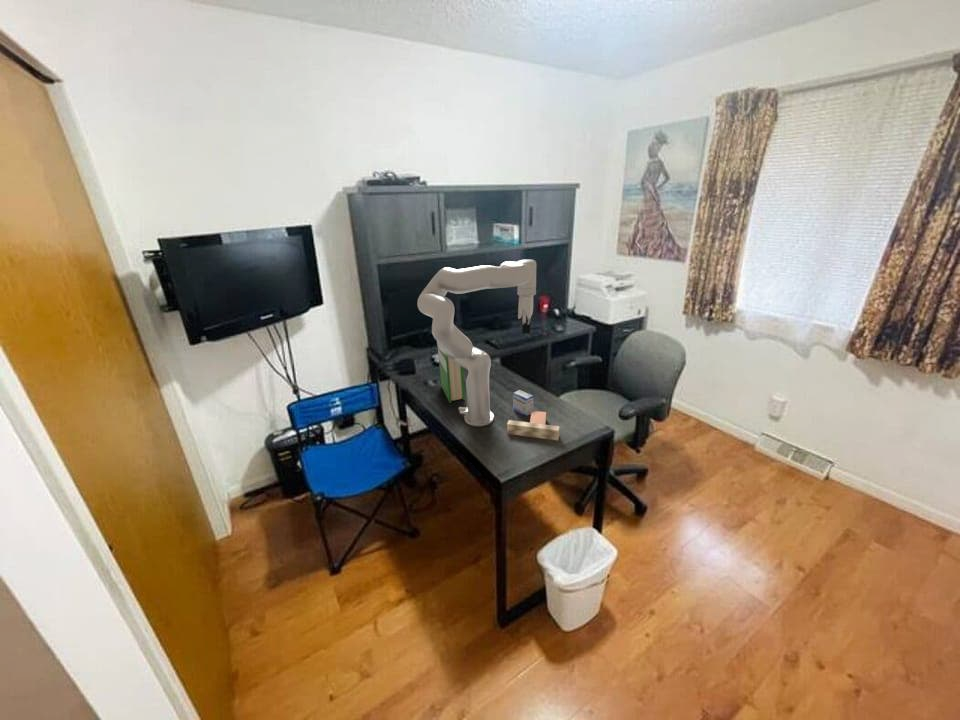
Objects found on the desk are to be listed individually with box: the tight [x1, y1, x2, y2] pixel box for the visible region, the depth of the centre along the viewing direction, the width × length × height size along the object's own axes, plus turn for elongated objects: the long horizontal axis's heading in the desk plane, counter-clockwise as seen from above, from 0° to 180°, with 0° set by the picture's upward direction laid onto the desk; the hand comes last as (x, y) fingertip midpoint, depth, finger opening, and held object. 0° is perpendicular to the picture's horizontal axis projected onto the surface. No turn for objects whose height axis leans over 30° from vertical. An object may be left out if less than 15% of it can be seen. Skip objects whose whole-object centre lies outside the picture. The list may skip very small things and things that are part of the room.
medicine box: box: [512, 389, 534, 417], centre depth 165 cm, size 8×4×9 cm, turn 45°
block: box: [529, 410, 547, 425], centre depth 156 cm, size 6×10×4 cm, turn 169°
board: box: [506, 419, 561, 441], centre depth 150 cm, size 20×3×4 cm, turn 73°
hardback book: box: [437, 346, 466, 404], centre depth 180 cm, size 18×7×24 cm, turn 18°
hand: (526, 332), depth 165 cm, fingers closed
